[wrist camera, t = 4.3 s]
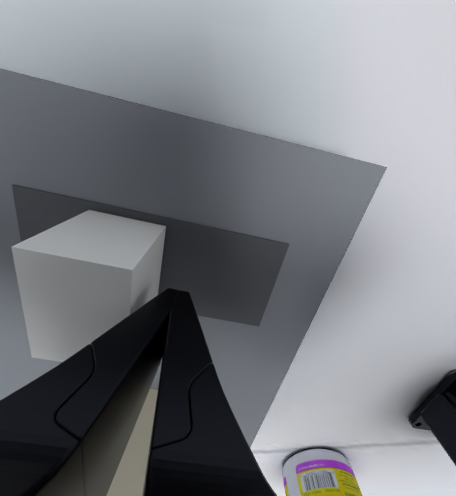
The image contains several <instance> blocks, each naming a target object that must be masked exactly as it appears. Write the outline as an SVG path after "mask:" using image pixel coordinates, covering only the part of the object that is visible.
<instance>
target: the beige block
mask: <svg viewBox="0 0 456 496" xmlns="http://www.w3.org/2000/svg"><path fill="white" fill-rule="evenodd" d="M157 392H158V390H155V389H150V390H149V392H148V395H147V397H146V400H145V402H144V404H143V407H142V409H141V412H140V414H139V417H138V419H137V422H136V424H135V427H134V429H133V432H132V434H131V436H130V439H129V441H128V444H127V446H126V449H125V451H124V454H123V456H122V459H121V461H120V464H119V466H118V468H117V471H116V473H115V476H114V478H113V481H112V483H111V486H110V488H109V491H108V493H107V496H142V494H143V487H144V480H145V473H146V466H147V460H148V453H149V446H150V439H151V432H152V426H153V419H154V412H155V405H156V398H157Z"/></svg>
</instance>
